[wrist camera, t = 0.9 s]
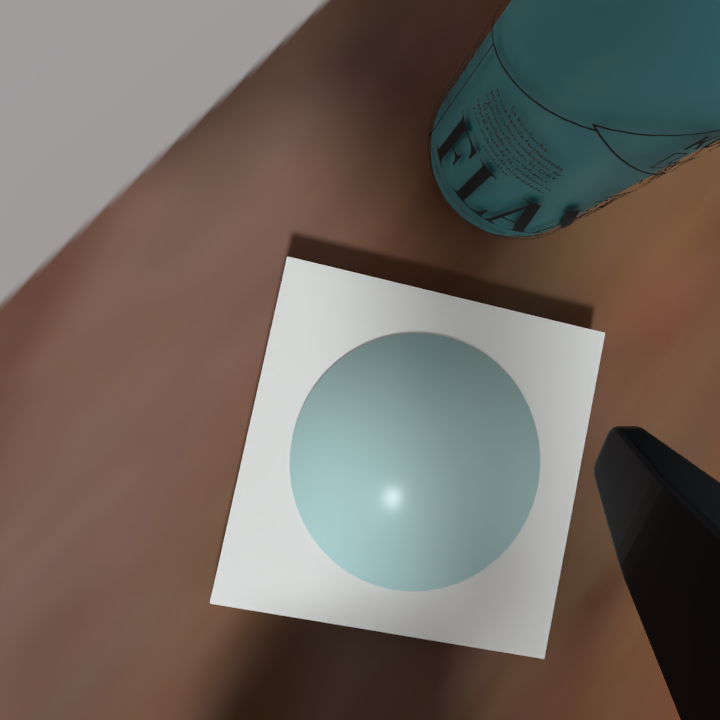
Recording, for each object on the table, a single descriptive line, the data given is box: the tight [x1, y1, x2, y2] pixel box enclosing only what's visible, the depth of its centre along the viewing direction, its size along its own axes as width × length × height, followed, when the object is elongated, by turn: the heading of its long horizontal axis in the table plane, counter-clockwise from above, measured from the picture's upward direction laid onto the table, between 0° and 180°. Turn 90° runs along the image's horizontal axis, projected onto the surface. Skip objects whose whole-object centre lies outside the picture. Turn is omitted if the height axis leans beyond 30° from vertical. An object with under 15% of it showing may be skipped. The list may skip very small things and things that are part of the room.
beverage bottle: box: [428, 0, 720, 239], centre depth 16 cm, size 6×7×20 cm
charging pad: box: [210, 256, 605, 659], centre depth 24 cm, size 12×12×1 cm
